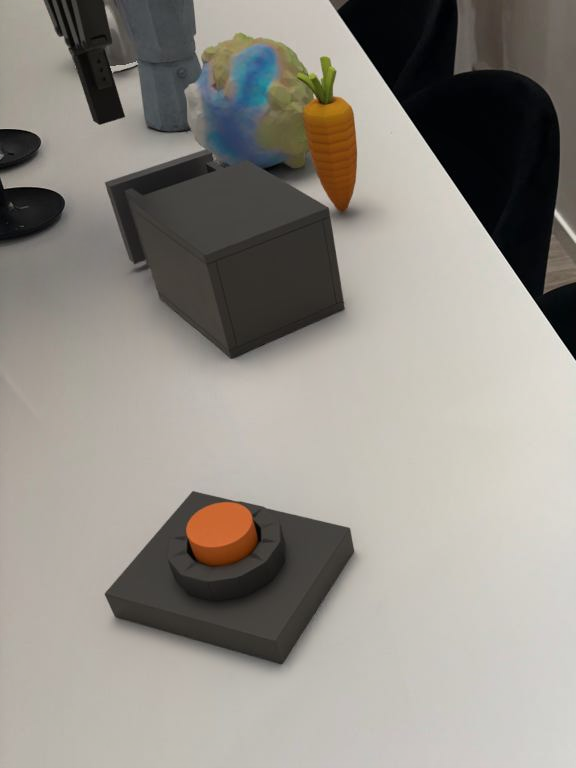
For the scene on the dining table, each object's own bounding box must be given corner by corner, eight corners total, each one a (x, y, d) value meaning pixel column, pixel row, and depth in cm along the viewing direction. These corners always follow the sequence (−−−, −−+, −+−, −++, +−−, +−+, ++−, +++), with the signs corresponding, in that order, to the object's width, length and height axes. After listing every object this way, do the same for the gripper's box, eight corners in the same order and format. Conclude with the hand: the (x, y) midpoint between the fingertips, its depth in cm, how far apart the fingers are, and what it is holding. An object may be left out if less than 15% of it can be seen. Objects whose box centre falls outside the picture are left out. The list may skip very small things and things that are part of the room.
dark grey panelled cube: (159, 298, 89) (129, 199, 83) (267, 255, 94) (247, 159, 88) (231, 358, 82) (204, 255, 75) (345, 308, 87) (329, 207, 80)
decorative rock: (157, 26, 99) (292, 39, 96) (233, 30, 112) (353, 41, 109) (166, 169, 105) (293, 185, 102) (237, 156, 119) (350, 170, 116)
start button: (180, 559, 59) (172, 538, 58) (214, 516, 62) (208, 496, 61) (236, 573, 58) (230, 553, 57) (269, 529, 61) (264, 509, 60)
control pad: (114, 617, 61) (94, 573, 58) (200, 513, 67) (185, 470, 65) (282, 664, 57) (269, 621, 55) (354, 551, 64) (346, 507, 61)
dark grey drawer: (111, 245, 96) (85, 168, 90) (204, 211, 100) (185, 136, 95) (189, 309, 86) (166, 227, 81) (289, 269, 91) (273, 189, 85)
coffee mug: (74, 56, 141) (51, -20, 135) (143, 46, 143) (124, -29, 137) (75, 86, 132) (50, 6, 125) (149, 75, 134) (128, -4, 127)
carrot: (340, 227, 98) (317, 73, 88) (309, 213, 101) (282, 63, 90) (376, 209, 101) (357, 58, 90) (344, 197, 103) (322, 48, 93)
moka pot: (194, 143, 116) (147, -44, 102) (107, 121, 122) (52, -59, 108) (248, 116, 121) (211, -65, 108) (163, 96, 128) (118, -78, 114)
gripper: (93, -174, 76) (174, 125, 93) (33, -187, 84) (117, 92, 100) (0, -159, 73) (100, 149, 89) (-54, -173, 81) (47, 112, 97)
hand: (109, 118), depth 95 cm, fingers closed
